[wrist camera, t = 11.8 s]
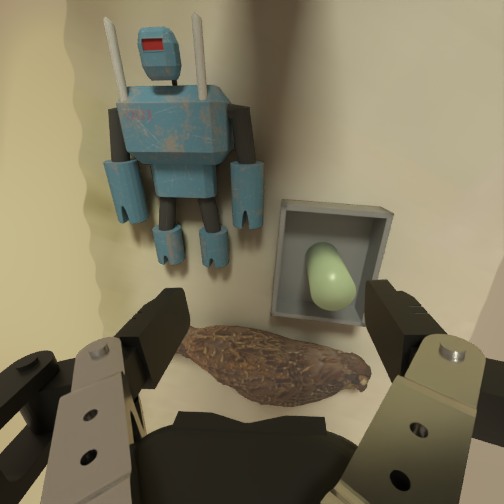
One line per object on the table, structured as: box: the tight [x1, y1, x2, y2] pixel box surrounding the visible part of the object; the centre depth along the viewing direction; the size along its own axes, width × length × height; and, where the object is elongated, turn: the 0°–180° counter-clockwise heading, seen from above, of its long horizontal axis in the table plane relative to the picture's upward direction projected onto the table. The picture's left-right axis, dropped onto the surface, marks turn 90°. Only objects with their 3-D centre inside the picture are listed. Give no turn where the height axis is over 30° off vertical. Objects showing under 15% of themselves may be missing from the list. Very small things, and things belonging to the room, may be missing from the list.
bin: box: [271, 199, 394, 327], centre depth 39 cm, size 17×14×5 cm
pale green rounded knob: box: [305, 242, 356, 311], centre depth 36 cm, size 5×5×11 cm
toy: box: [103, 12, 264, 268], centre depth 36 cm, size 22×9×30 cm
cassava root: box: [176, 326, 371, 407], centre depth 44 cm, size 41×11×10 cm
